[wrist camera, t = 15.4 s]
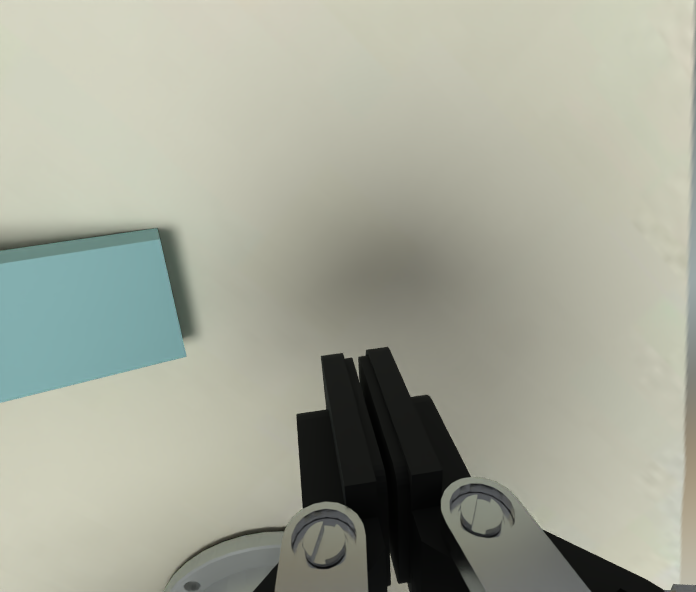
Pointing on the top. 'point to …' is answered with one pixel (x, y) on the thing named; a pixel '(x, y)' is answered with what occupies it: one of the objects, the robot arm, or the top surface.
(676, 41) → the top surface
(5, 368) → the tile
